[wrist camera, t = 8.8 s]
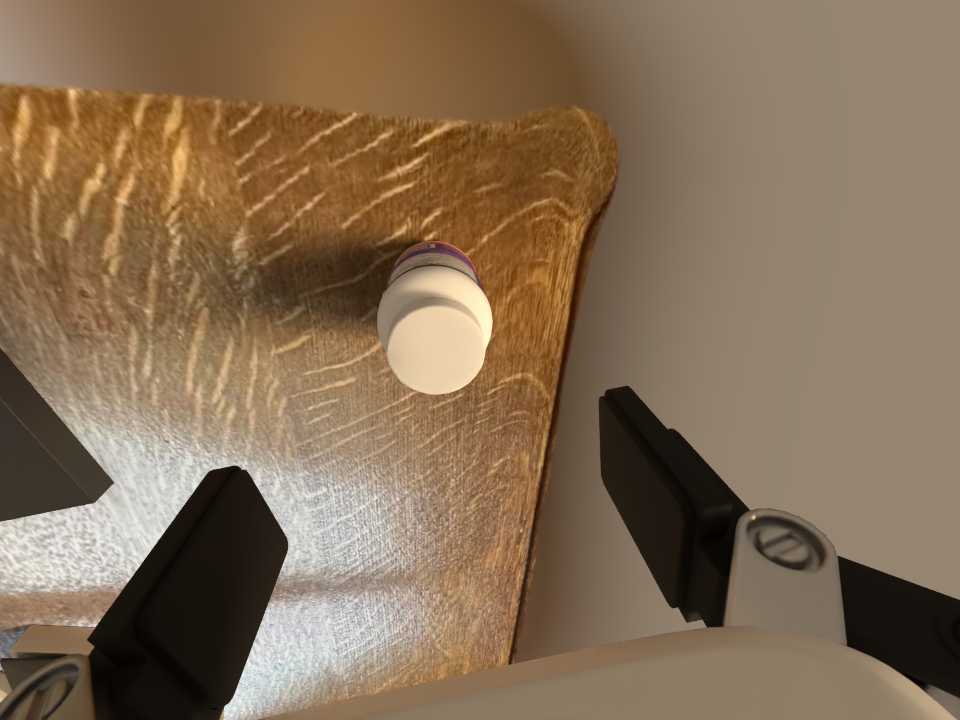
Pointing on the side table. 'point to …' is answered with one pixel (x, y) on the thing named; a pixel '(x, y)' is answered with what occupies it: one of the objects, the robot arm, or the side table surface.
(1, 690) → the travel mug
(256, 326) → the side table surface
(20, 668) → the picture frame
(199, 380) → the side table surface
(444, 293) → the pill bottle
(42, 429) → the black base plate
